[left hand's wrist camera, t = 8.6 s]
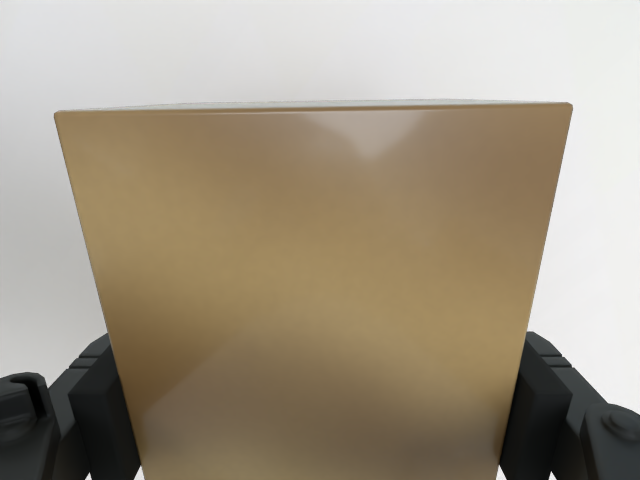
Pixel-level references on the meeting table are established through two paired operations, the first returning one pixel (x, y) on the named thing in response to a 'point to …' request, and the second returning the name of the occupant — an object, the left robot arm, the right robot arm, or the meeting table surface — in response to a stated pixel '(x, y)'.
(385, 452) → the wide beam
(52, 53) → the meeting table surface
